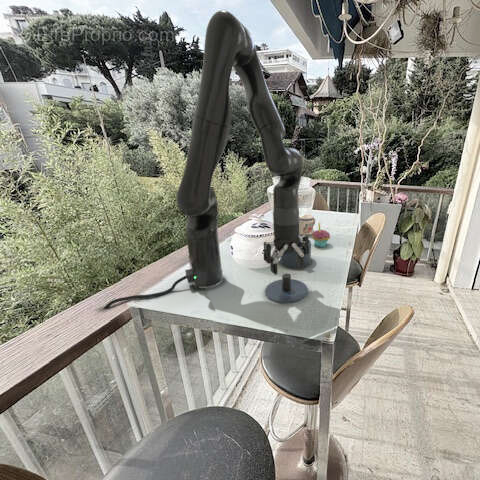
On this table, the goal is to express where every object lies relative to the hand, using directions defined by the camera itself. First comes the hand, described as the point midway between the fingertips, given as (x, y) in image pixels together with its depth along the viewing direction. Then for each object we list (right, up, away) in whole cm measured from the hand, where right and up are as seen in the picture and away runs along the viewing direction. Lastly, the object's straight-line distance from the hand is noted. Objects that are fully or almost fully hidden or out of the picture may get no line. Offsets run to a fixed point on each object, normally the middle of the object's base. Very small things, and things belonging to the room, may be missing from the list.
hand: (287, 270), depth 83 cm
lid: (-1, -7, +3) cm, 8 cm away
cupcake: (+10, +7, +42) cm, 44 cm away
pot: (0, +1, +24) cm, 24 cm away
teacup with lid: (+3, +13, +57) cm, 59 cm away
